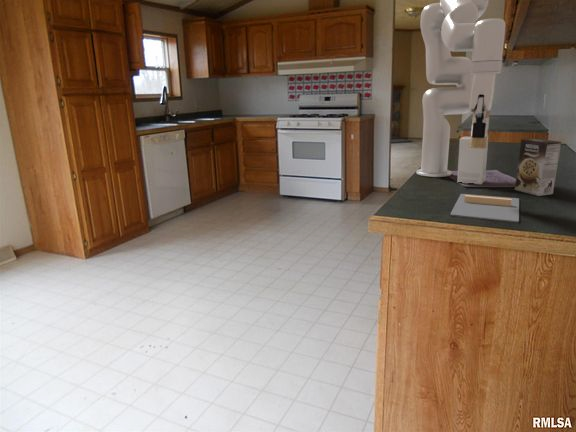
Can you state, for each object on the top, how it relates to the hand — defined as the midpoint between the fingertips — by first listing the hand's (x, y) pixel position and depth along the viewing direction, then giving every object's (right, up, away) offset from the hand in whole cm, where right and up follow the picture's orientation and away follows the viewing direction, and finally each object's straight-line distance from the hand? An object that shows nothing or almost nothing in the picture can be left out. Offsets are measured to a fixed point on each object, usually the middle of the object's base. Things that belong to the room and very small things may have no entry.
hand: (479, 136), depth 123 cm
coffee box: (+23, -15, +13) cm, 30 cm away
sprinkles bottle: (0, -3, +1) cm, 4 cm away
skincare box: (+9, -11, +28) cm, 31 cm away
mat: (+1, -20, -2) cm, 20 cm away
